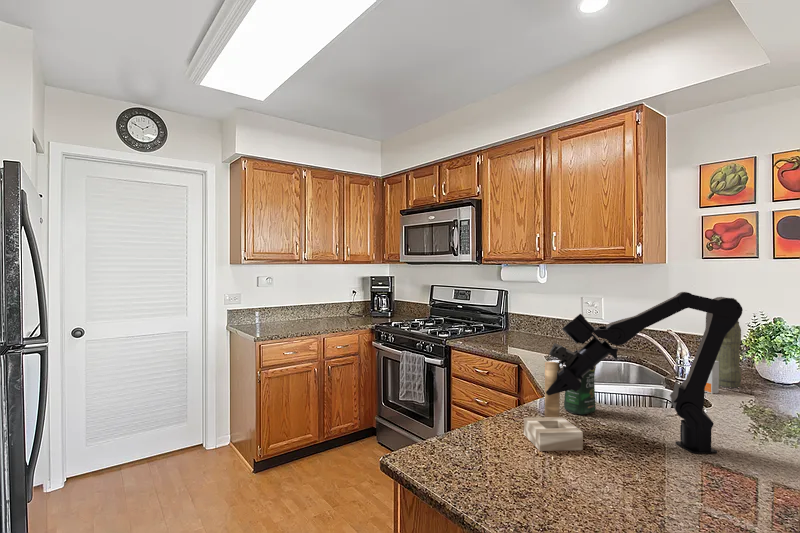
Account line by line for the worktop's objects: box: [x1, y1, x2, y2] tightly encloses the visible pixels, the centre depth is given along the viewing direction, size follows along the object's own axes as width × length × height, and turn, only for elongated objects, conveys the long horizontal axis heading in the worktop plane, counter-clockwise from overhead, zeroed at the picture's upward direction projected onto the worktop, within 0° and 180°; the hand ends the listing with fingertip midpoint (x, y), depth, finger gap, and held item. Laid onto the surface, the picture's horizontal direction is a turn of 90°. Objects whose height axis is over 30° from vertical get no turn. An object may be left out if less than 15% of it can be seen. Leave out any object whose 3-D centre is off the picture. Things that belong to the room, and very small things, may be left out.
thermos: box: [716, 297, 742, 389], centre depth 171 cm, size 9×12×35 cm
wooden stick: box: [544, 361, 561, 417], centre depth 122 cm, size 4×4×16 cm
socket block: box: [523, 416, 584, 452], centre depth 112 cm, size 11×11×4 cm
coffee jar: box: [563, 365, 597, 415], centre depth 137 cm, size 10×8×19 cm
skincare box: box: [705, 361, 720, 395], centre depth 161 cm, size 6×4×12 cm
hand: (547, 391), depth 123 cm, fingers closed on wooden stick, 4 cm apart
